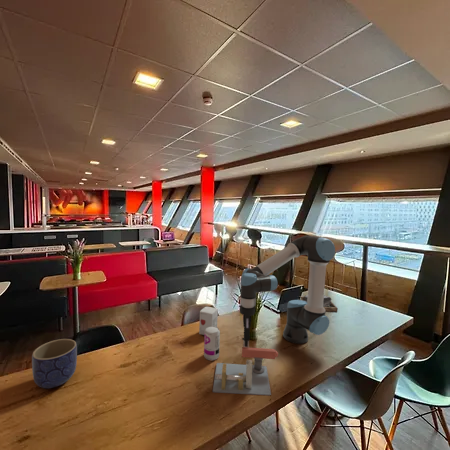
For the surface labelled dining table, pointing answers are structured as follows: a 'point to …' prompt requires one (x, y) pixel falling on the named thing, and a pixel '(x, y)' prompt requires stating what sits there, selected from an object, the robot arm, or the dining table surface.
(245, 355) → the handle
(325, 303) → the towel
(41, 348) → the planter
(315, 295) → the robot arm
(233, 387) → the board
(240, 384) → the eye bracket
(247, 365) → the sliding bolt
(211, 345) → the supplement can
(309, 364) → the dining table surface
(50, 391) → the dining table surface
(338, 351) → the dining table surface
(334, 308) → the towel corral
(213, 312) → the supplement box
